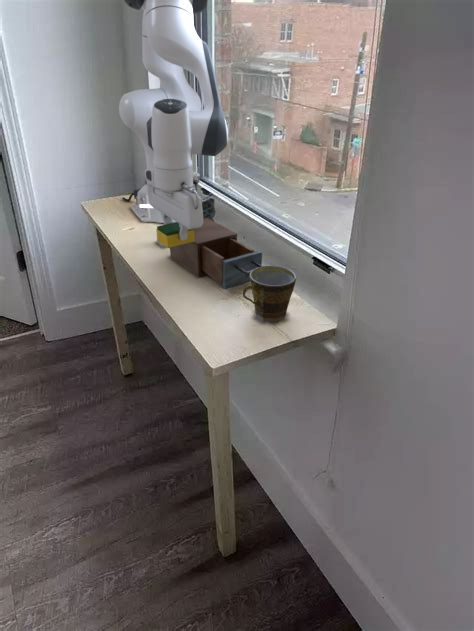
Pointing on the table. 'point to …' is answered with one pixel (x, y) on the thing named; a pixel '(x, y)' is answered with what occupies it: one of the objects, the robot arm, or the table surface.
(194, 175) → the plant with pod
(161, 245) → the lighter
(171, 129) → the robot arm
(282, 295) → the ceramic cup
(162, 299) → the table surface
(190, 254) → the cabinet
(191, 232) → the sponge
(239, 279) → the drawer
